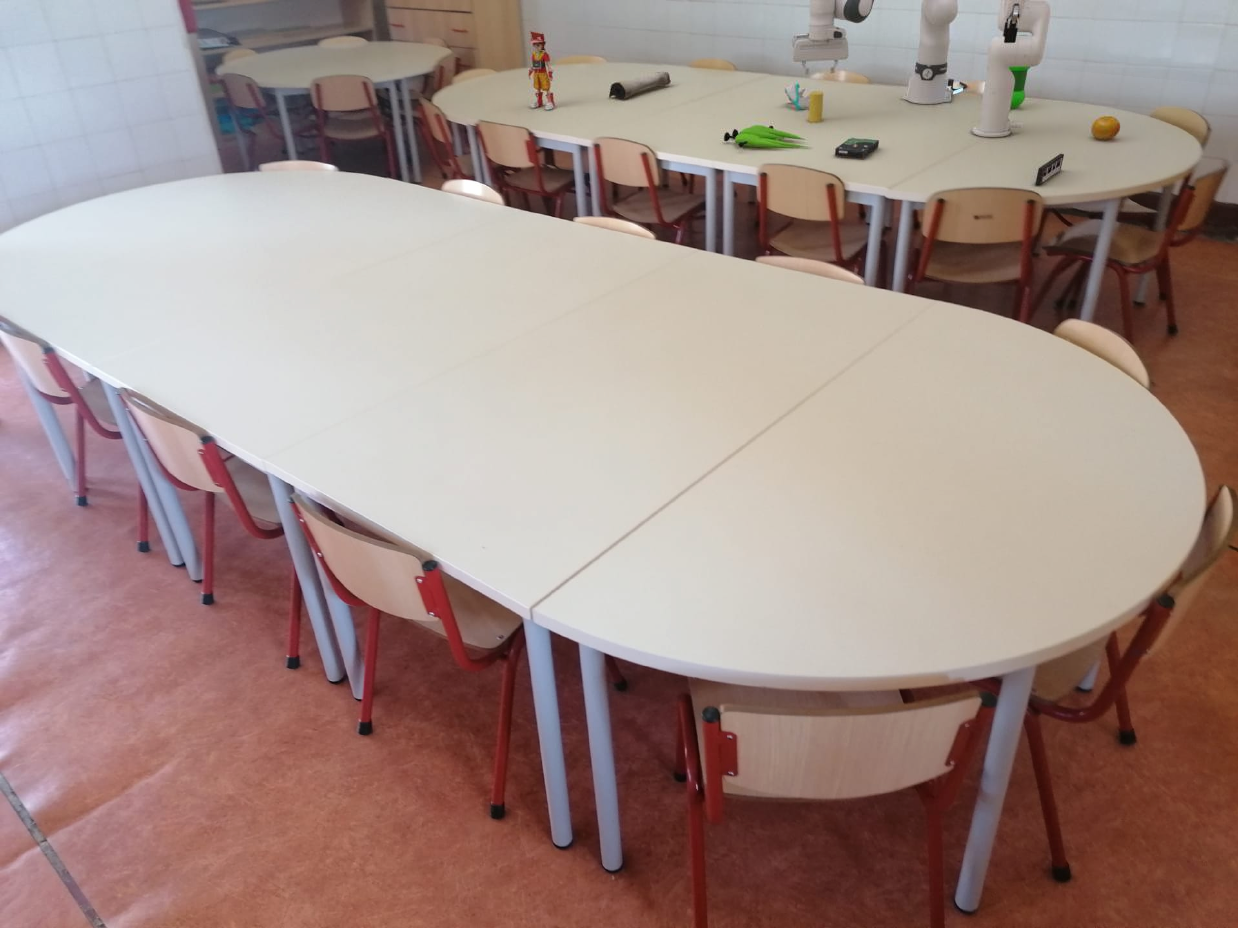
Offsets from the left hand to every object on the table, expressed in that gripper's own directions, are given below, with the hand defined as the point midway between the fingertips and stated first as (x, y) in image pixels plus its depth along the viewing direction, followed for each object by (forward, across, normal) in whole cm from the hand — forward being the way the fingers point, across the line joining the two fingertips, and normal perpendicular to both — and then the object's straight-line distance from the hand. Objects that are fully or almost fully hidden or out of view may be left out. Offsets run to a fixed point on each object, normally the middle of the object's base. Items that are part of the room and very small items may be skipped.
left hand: (819, 73), depth 333 cm
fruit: (+20, +95, -26) cm, 101 cm away
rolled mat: (+15, -77, +50) cm, 93 cm away
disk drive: (+17, +13, -43) cm, 48 cm away
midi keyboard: (+19, +70, -70) cm, 100 cm away
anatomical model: (+17, -8, +22) cm, 29 cm away
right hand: (-18, +56, -52) cm, 78 cm away
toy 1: (+13, -115, +24) cm, 118 cm away
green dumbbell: (+19, +72, +18) cm, 77 cm away
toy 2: (+16, -17, -32) cm, 40 cm away
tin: (+17, -1, 0) cm, 17 cm away
